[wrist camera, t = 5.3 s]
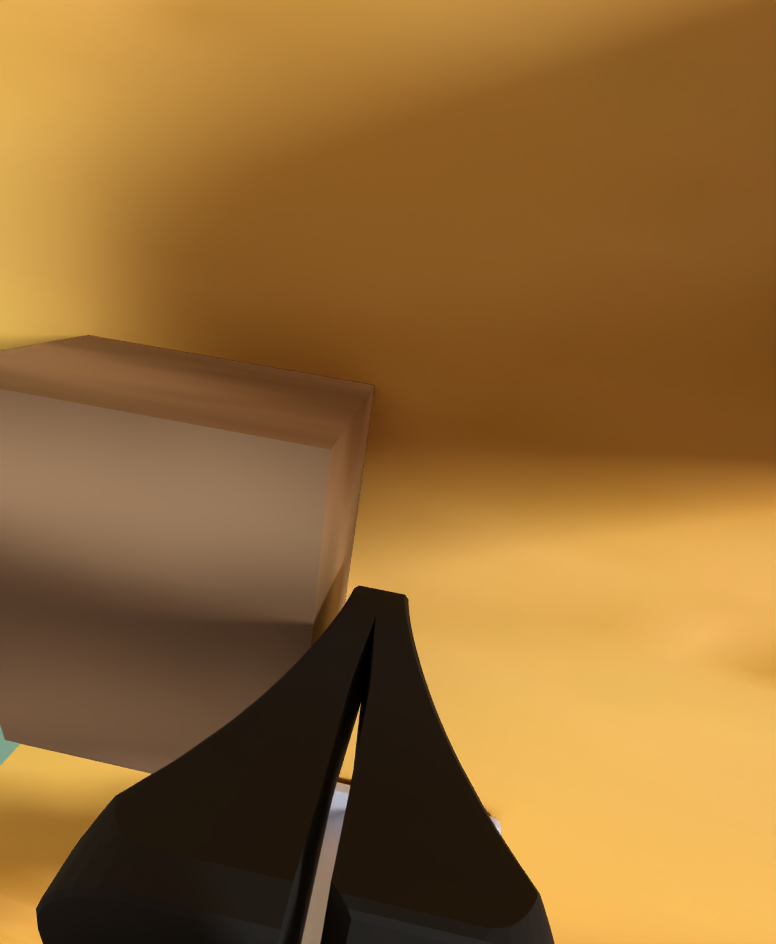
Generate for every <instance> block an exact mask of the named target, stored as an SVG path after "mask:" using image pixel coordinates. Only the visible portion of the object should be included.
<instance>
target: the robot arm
mask: <svg viewBox="0 0 776 944" xmlns="http://www.w3.org/2000/svg"><path fill="white" fill-rule="evenodd" d="M360 704H361V707H360ZM359 707H360V716H359V725H358V734H357V743H356V752H355V761H354V770H353V775H352V780H351V785H347V784H343V783H338V782H337V780H338V777H339V774H340V770H341V767H342V764H343V760H344V757H345V754H346V750H347V747H348V744H349V740H350V737H351V734H352V731H353V727H354V724H355V721H356V717H357V714H358V711H359ZM36 913H37V924H38V930H39V933H40V936H41V939H42V942H43V944H554V940H553V936H552V932H551V929H550V925H549V922H548V918H547V915H546V912H545V909H544V905H543V902H542V899H541V896H540V894H539V892H538V891H537V889H536V888H535V886H534V885H533V883H532V882H531V880H530V879H529V877H528V876H527V874H526V873H525V871H524V870H523V869H522V867H521V866H520V864H519V863H518V861H517V860H516V858H515V856H514V855H513V853H512V852H511V850H510V849H509V847H508V846H507V844H506V843H505V841H504V840H503V838H502V836H501V824H500V822H499V821H498V820H497V819H496V818H495V817H492V816H489V815H488V813H487V811H486V810H485V808H484V806H483V805H482V803H481V801H480V799H479V797H478V795H477V794H476V792H475V790H474V788H473V786H472V784H471V783H470V781H469V779H468V777H467V775H466V773H465V771H464V770H463V768H462V766H461V764H460V762H459V760H458V758H457V756H456V754H455V752H454V750H453V747H452V745H451V743H450V741H449V739H448V737H447V735H446V732H445V730H444V728H443V725H442V723H441V721H440V718H439V716H438V713H437V711H436V708H435V706H434V703H433V701H432V698H431V695H430V692H429V689H428V686H427V684H426V681H425V678H424V674H423V671H422V668H421V665H420V661H419V657H418V654H417V650H416V646H415V642H414V638H413V633H412V628H411V623H410V616H409V606H408V598H407V597H406V595H404V594H399V593H394V592H389V591H384V590H379V589H374V588H369V587H364V586H358V587H356V588H354V590H353V592H352V594H351V595H350V597H349V599H348V600H347V602H346V603H345V605H344V606H343V608H342V609H341V611H340V612H339V613H338V615H337V616H336V617H335V619H334V620H333V621H332V623H331V624H330V625H329V626H328V628H327V629H326V630H325V631H324V632H323V634H322V635H321V636H320V637H319V639H318V640H317V641H316V642H315V643H314V644H313V645H312V647H311V648H310V649H309V650H308V651H307V652H306V653H305V654H304V655H303V656H302V657H301V658H300V659H299V660H298V662H297V663H296V664H295V665H294V666H293V667H292V668H291V669H290V670H289V671H288V672H287V673H286V674H285V675H284V676H283V677H282V678H281V679H279V680H278V681H277V682H276V683H275V684H274V685H273V686H272V687H271V688H270V689H269V690H267V691H266V692H265V693H264V694H263V695H262V696H261V697H259V698H258V699H257V700H256V701H255V702H253V703H252V704H251V705H250V706H249V707H247V708H246V709H245V710H244V711H243V712H241V713H240V714H239V715H238V716H236V717H235V718H234V719H232V720H231V721H230V722H229V723H227V724H226V725H225V726H223V727H222V728H221V729H219V730H218V731H216V732H215V733H213V734H212V735H211V736H209V737H208V738H206V739H205V740H203V741H202V742H201V743H199V744H198V745H196V746H195V747H193V748H192V749H191V750H189V751H188V752H186V753H185V754H183V755H182V756H180V757H179V758H177V759H176V760H174V761H173V762H171V763H170V764H168V765H166V766H165V767H163V768H161V769H160V770H158V771H156V772H155V773H153V774H151V775H150V776H148V777H146V778H145V779H143V780H141V781H140V782H138V783H136V784H135V785H133V786H131V787H130V788H128V789H126V790H125V791H123V792H121V793H120V794H118V795H116V796H115V797H114V798H113V800H112V801H111V802H110V803H109V804H108V805H107V807H106V808H105V809H104V810H103V811H102V813H101V814H100V815H99V816H98V817H97V819H96V820H95V821H94V823H93V824H92V825H91V826H90V828H89V829H88V830H87V832H86V833H85V834H84V835H83V836H82V838H81V839H80V840H79V842H78V843H77V845H76V846H75V847H74V849H73V850H72V852H71V853H70V855H69V856H68V858H67V859H66V861H65V863H64V864H63V866H62V867H61V869H60V870H59V872H58V873H57V875H56V877H55V878H54V880H53V881H52V883H51V884H50V886H49V887H48V889H47V891H46V892H45V894H44V895H43V897H42V898H41V900H40V902H39V904H38V906H37V908H36Z"/></svg>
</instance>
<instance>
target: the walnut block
mask: <svg viewBox="0 0 776 944" xmlns="http://www.w3.org/2000/svg"><path fill="white" fill-rule="evenodd" d="M373 392H374V385H371V384H365V383H359V382H353V381H348V380H342V379H336V378H331V377H325V376H319V375H313V374H308V373H302V372H296V371H290V370H285V369H279V368H273V367H268V366H262V365H256V364H250V363H245V362H239V361H233V360H228V359H222V358H216V357H210V356H205V355H199V354H193V353H188V352H182V351H176V350H170V349H165V348H159V347H153V346H147V345H142V344H136V343H130V342H125V341H119V340H113V339H107V338H102V337H96V336H90V335H87V336H82V337H76V338H70V339H65V340H59V341H53V342H48V343H42V344H36V345H31V346H25V347H19V348H14V349H8V350H2V351H0V726H1V729H2V732H3V736H4V739H5V740H7V741H11V742H16V743H20V744H25V745H29V746H33V747H38V748H42V749H46V750H51V751H55V752H60V753H64V754H68V755H73V756H77V757H81V758H86V759H90V760H95V761H99V762H103V763H108V764H112V765H116V766H121V767H125V768H129V769H134V770H138V771H143V772H147V773H151V774H153V773H155V772H156V771H158V770H160V769H161V768H163V767H165V766H166V765H168V764H170V763H171V762H173V761H174V760H176V759H177V758H179V757H180V756H182V755H183V754H185V753H186V752H188V751H189V750H191V749H192V748H193V747H195V746H196V745H198V744H199V743H201V742H202V741H203V740H205V739H206V738H208V737H209V736H211V735H212V734H213V733H215V732H216V731H218V730H219V729H221V728H222V727H223V726H225V725H226V724H227V723H229V722H230V721H231V720H232V719H234V718H235V717H236V716H238V715H239V714H240V713H241V712H243V711H244V710H245V709H246V708H247V707H249V706H250V705H251V704H252V703H253V702H255V701H256V700H257V699H258V698H259V697H261V696H262V695H263V694H264V693H265V692H266V691H267V690H269V689H270V688H271V687H272V686H273V685H274V684H275V683H276V682H277V681H278V680H279V679H281V678H282V677H283V676H284V675H285V674H286V673H287V672H288V671H289V670H290V669H291V668H292V667H293V666H294V665H295V664H296V663H297V662H298V660H299V659H300V658H301V657H302V656H303V655H304V654H305V653H306V652H307V651H308V650H309V649H310V648H311V647H312V645H313V644H314V643H315V642H316V641H317V640H318V639H319V637H320V636H321V635H322V634H323V632H324V631H325V630H326V629H327V628H328V626H329V625H330V624H331V623H332V621H333V620H334V619H335V617H336V616H337V615H338V613H339V612H340V611H341V609H342V608H343V606H344V605H345V601H346V593H347V586H348V578H349V571H350V563H351V556H352V549H353V541H354V534H355V526H356V519H357V511H358V504H359V496H360V489H361V482H362V474H363V467H364V459H365V452H366V444H367V437H368V430H369V422H370V415H371V407H372V400H373Z"/></svg>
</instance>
